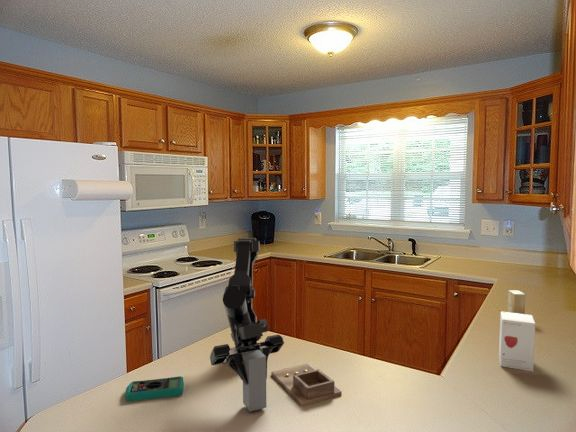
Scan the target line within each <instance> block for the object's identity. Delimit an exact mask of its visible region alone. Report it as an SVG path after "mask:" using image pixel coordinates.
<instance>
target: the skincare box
mask: <svg viewBox="0 0 576 432" xmlns="http://www.w3.org/2000/svg"><path fill="white" fill-rule="evenodd" d="M526 297H527V295H526V294H525V293H524V292H522V291H521V290H518V289H517V290H516V289H513V290H511V289H508V296H507V298H508V299H507V312H510V313H519V314H526V313H525V312H526Z"/></svg>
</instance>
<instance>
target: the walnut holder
mask: <svg viewBox="0 0 576 432" xmlns="http://www.w3.org/2000/svg"><path fill="white" fill-rule="evenodd" d="M270 373H271V374H270V375H271V377H273V379H275V381H276V382H278V384H280V386H281V387H282V388H284V390H285V391H286V392H287V393H288V394H289V395H290V396H291V397H292V398H293V399H294V400H295V401H296V402H297V404H299V405H300V406H301V407H304V406H307V405H311V404H314V403H318V402H322V401H326V400H329V399H332V398H336V397H340V396H342V392H343V391H341V390H340V389H339V388H338V387H337V386H335V381H334V380H333V379H332V378H331V377H329V376H328V375H327V374H326V373H325V372H323V371H322V370H320V369H319V368H318V369H314V368H313V367H311V365H309V364H308V363H304V364H299V365H296V366H291V367H286V368H282V369H277V370H273V371H271V372H270Z"/></svg>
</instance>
